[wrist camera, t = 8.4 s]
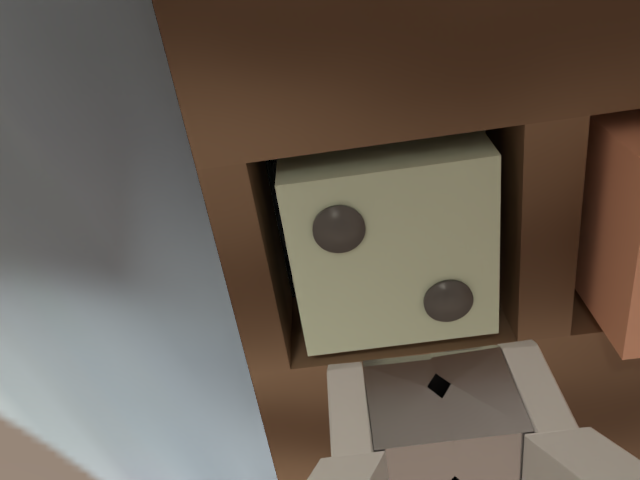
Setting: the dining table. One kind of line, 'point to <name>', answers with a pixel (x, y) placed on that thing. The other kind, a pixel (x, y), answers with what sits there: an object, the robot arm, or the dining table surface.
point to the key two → (394, 241)
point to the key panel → (397, 126)
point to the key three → (612, 229)
